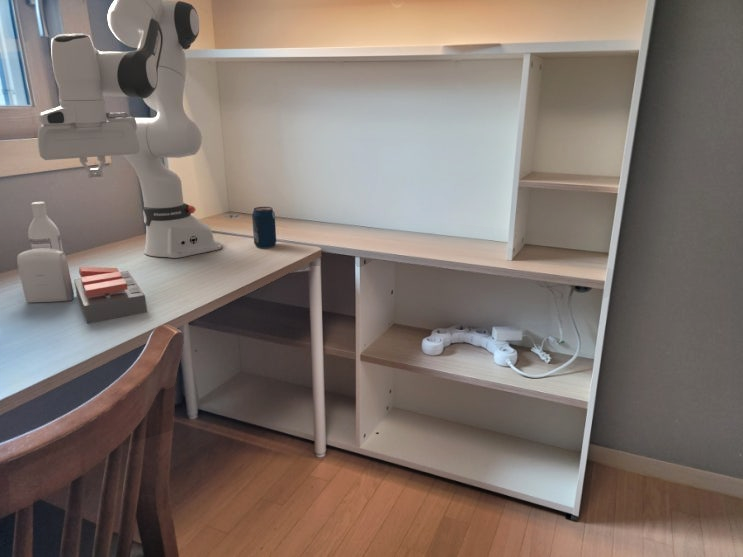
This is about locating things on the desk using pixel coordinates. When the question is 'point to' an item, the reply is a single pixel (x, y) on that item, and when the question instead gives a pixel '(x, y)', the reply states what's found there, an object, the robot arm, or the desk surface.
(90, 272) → the block
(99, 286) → the block
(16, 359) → the desk surface
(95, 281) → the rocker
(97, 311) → the rocker switch panel
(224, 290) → the desk surface
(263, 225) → the soda can
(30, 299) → the photo printer
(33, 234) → the bath foam
